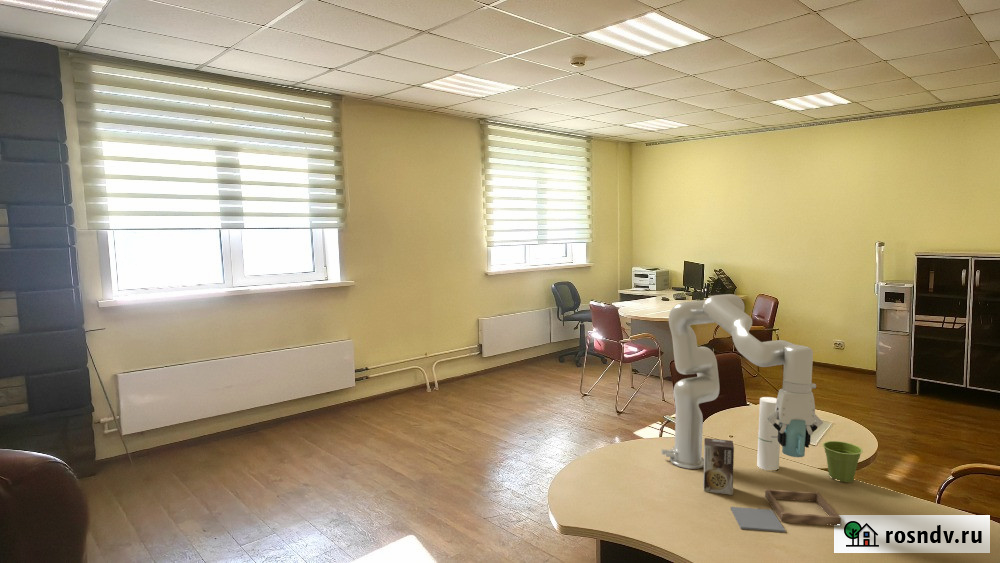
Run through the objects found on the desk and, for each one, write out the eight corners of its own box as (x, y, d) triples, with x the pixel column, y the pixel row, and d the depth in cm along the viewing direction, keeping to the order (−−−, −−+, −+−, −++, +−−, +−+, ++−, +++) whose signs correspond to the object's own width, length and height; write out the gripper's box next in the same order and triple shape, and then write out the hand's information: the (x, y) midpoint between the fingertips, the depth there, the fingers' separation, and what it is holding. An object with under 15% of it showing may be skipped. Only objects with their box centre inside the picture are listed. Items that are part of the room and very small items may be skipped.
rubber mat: (740, 528, 161) (741, 527, 161) (730, 508, 173) (730, 506, 173) (785, 532, 160) (785, 530, 160) (771, 511, 171) (771, 509, 171)
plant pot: (826, 468, 202) (828, 438, 201) (864, 478, 194) (866, 447, 193) (816, 478, 194) (818, 447, 193) (855, 489, 186) (857, 456, 185)
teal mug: (779, 448, 172) (780, 414, 171) (799, 449, 172) (801, 414, 171) (790, 460, 163) (792, 424, 162) (812, 462, 163) (814, 425, 162)
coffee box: (731, 487, 188) (733, 440, 186) (733, 495, 182) (734, 447, 180) (702, 483, 191) (704, 437, 189) (703, 491, 185) (704, 444, 183)
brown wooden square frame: (781, 521, 165) (782, 513, 165) (765, 496, 181) (765, 489, 181) (840, 526, 163) (840, 518, 163) (818, 500, 179) (818, 492, 178)
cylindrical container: (782, 471, 200) (785, 403, 198) (762, 471, 200) (765, 403, 198) (773, 463, 207) (776, 397, 205) (753, 463, 207) (756, 396, 205)
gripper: (822, 384, 170) (818, 442, 171) (762, 382, 172) (759, 439, 174) (833, 391, 162) (829, 451, 164) (770, 389, 164) (767, 448, 166)
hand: (793, 444), depth 169 cm, fingers closed on teal mug, 6 cm apart
